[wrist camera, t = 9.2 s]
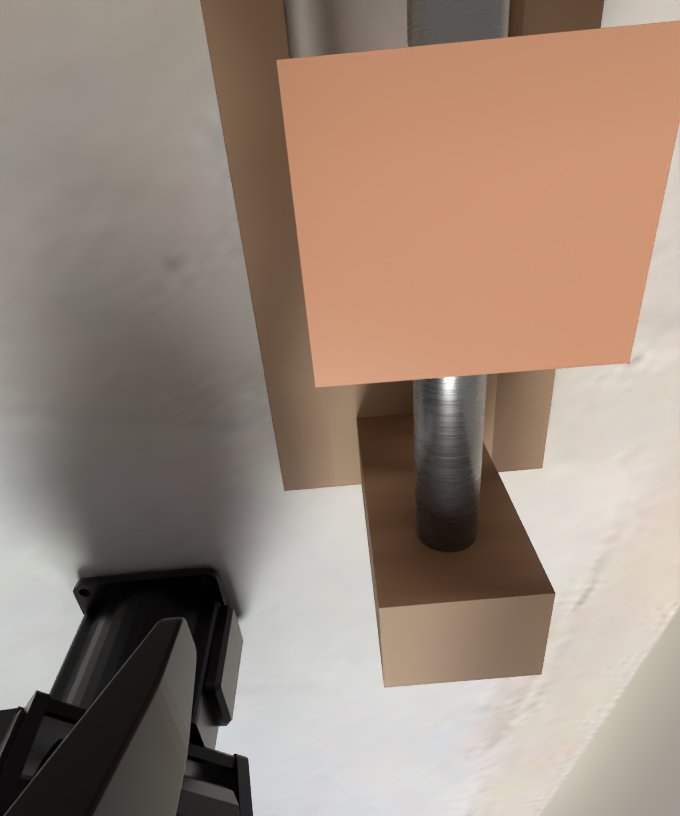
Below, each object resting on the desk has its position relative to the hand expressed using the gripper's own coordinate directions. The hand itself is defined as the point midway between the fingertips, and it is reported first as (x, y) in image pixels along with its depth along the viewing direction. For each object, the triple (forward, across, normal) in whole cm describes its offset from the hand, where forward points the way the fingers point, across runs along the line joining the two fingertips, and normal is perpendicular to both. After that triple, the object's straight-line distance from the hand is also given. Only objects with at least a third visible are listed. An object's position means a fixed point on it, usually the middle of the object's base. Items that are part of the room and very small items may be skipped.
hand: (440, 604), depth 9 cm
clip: (+9, -1, -6) cm, 11 cm away
